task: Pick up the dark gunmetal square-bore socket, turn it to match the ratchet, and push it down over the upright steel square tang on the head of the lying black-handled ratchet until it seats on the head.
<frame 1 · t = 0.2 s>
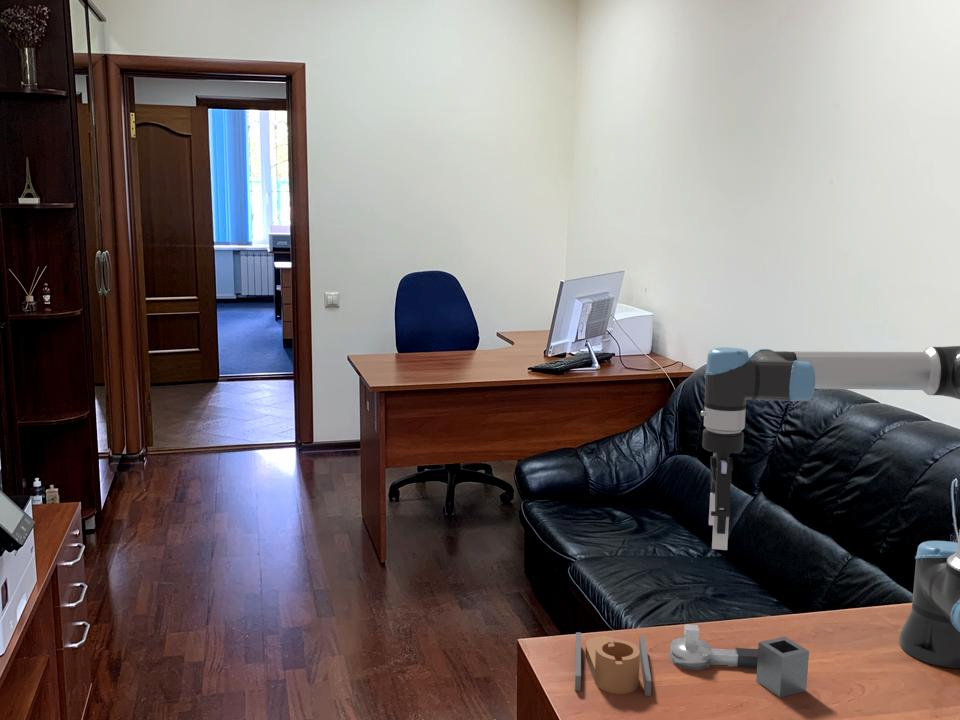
hand: (717, 536, 170), 27 cm above the table, fingers open, 13 cm apart
tan slotted hollow cylinder: (611, 671, 173), on the table
ratchet: (690, 660, 177), on the table
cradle: (611, 669, 173), on the table
socket: (780, 686, 167), on the table
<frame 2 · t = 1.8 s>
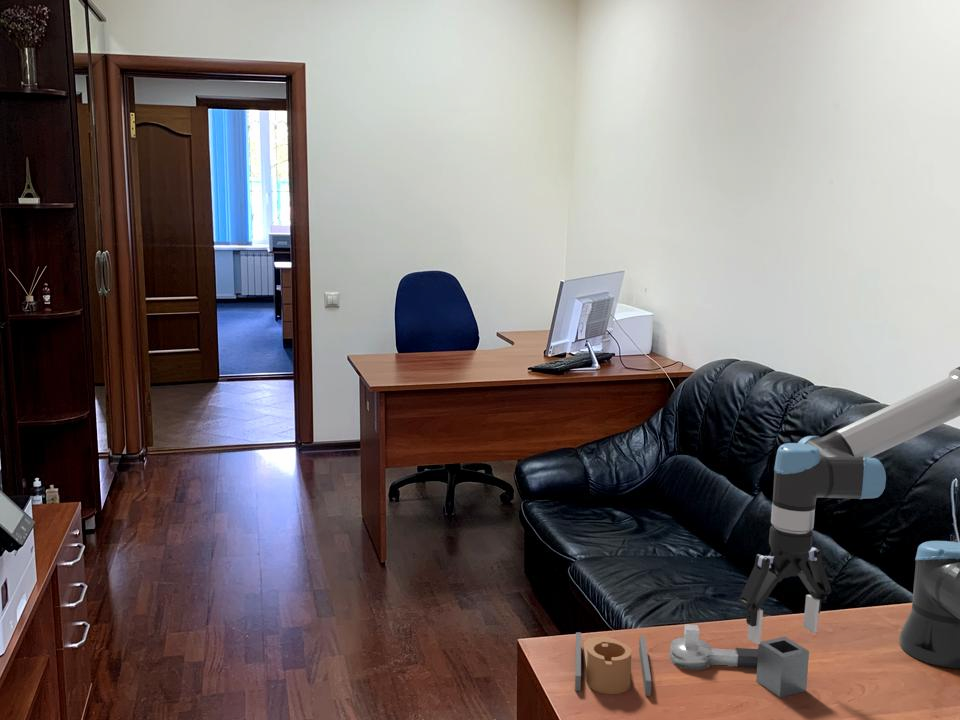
hand: (782, 635, 166), 10 cm above the table, fingers open, 13 cm apart
tan slotted hollow cylinder: (605, 671, 173), on the table
everything else where it was.
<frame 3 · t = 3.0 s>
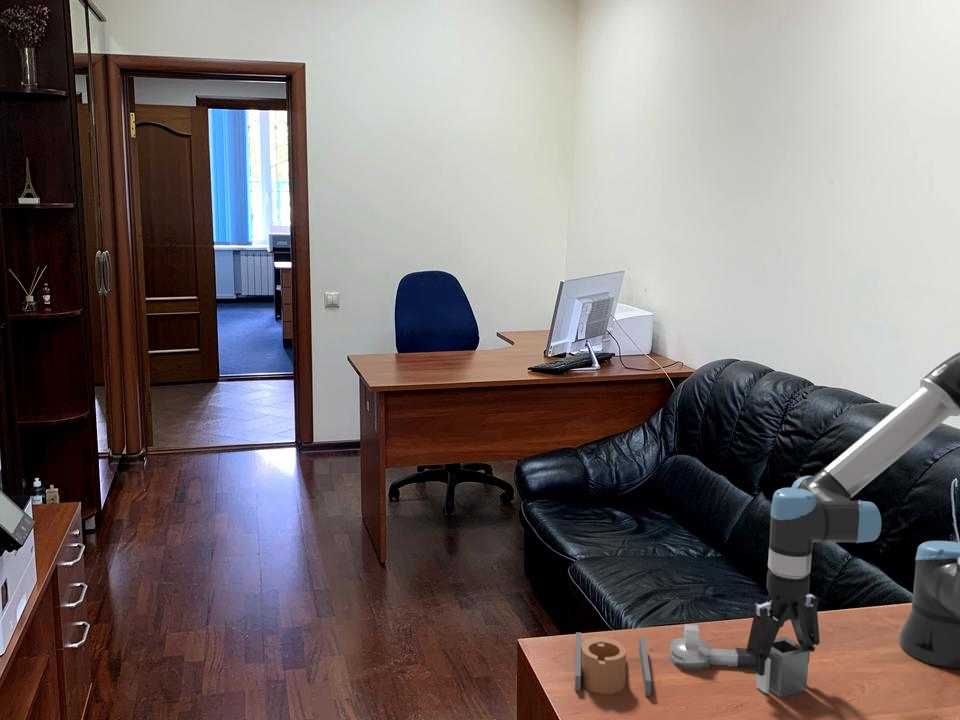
hand: (780, 684, 167), 0 cm above the table, fingers open, 8 cm apart
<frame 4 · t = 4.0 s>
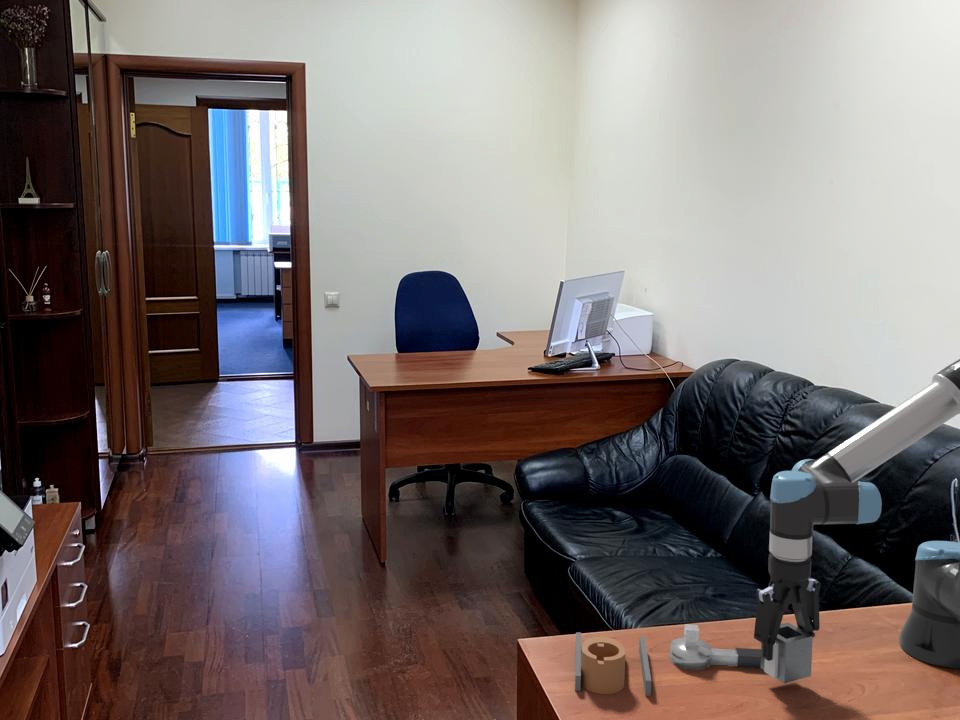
hand: (785, 670, 167), 3 cm above the table, fingers closed on socket, 6 cm apart
socket: (785, 672, 167), point 3 cm above the table, touching gripper
everything else where it was.
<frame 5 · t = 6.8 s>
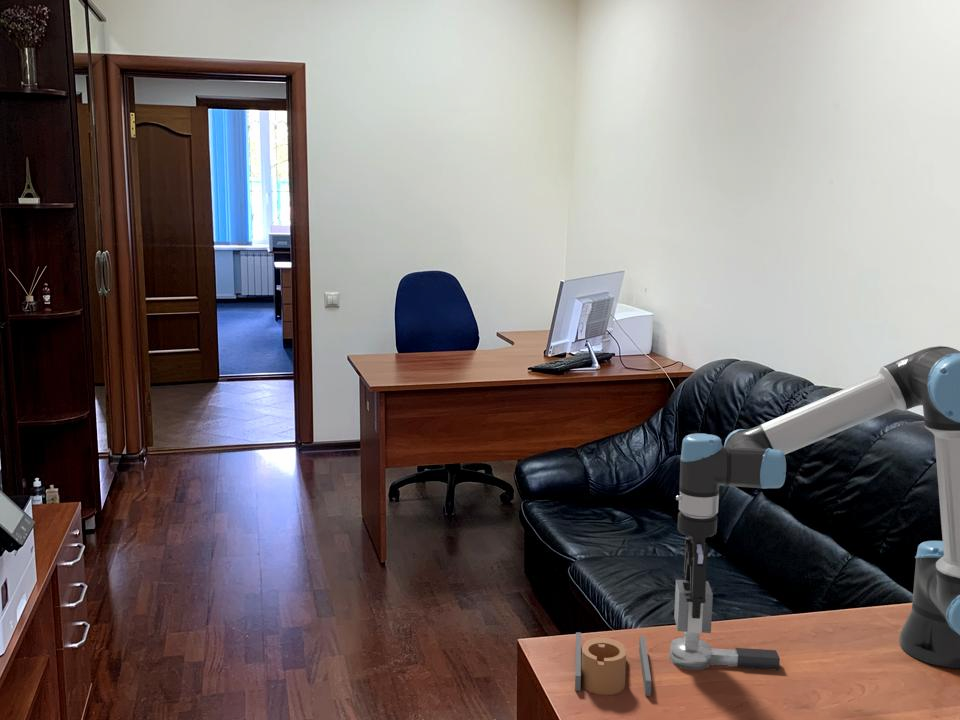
hand: (692, 623, 176), 8 cm above the table, fingers closed on socket, 6 cm apart
socket: (692, 624, 176), point 8 cm above the table, touching gripper
everything else where it was.
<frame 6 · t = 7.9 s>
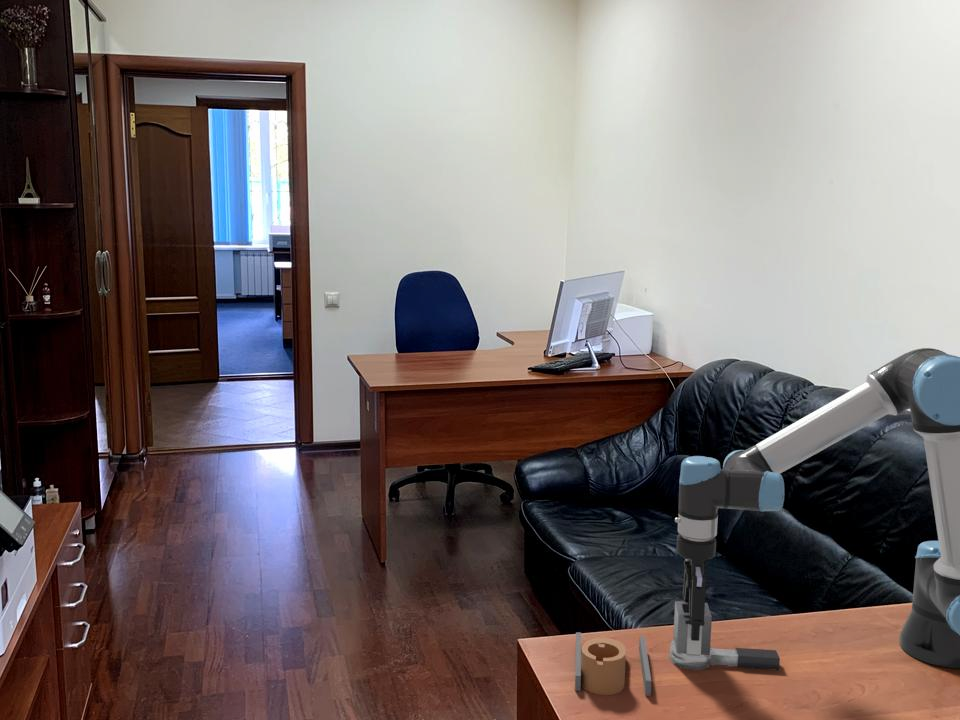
hand: (691, 645, 176), 3 cm above the table, fingers closed on ratchet, socket, 6 cm apart
tan slotted hollow cylinder: (603, 672, 172), on the table, touching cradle
ratchet: (690, 660, 177), on the table, touching gripper
socket: (691, 646, 176), point 3 cm above the table, touching gripper
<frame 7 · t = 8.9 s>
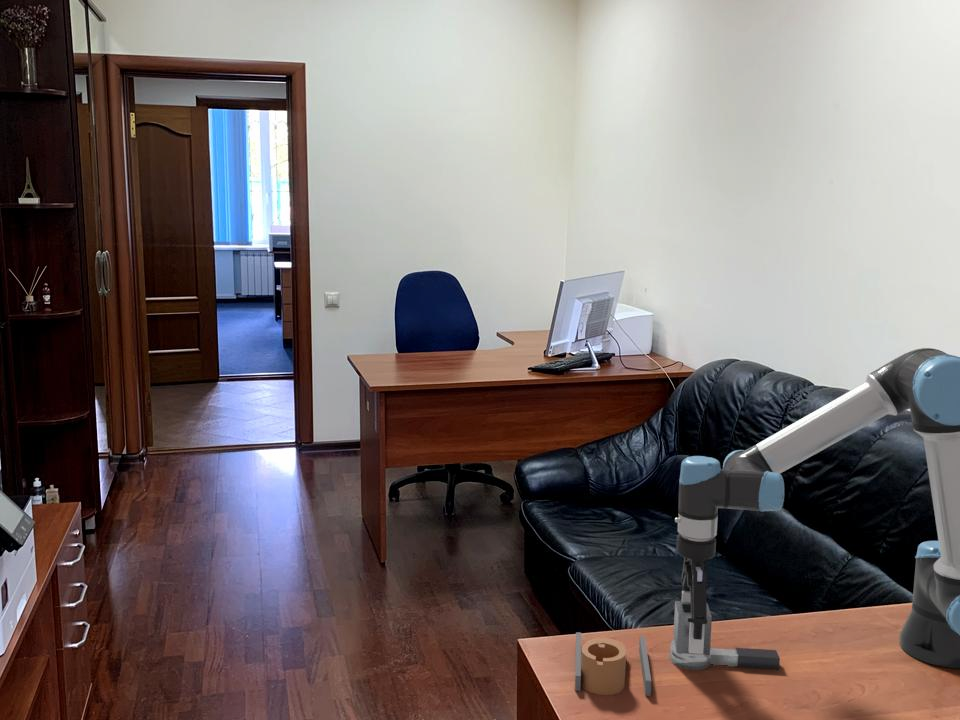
hand: (691, 636, 176), 5 cm above the table, fingers open, 13 cm apart
ratchet: (690, 660, 177), on the table, touching socket
socket: (691, 646, 176), point 3 cm above the table, touching ratchet
everything else where it was.
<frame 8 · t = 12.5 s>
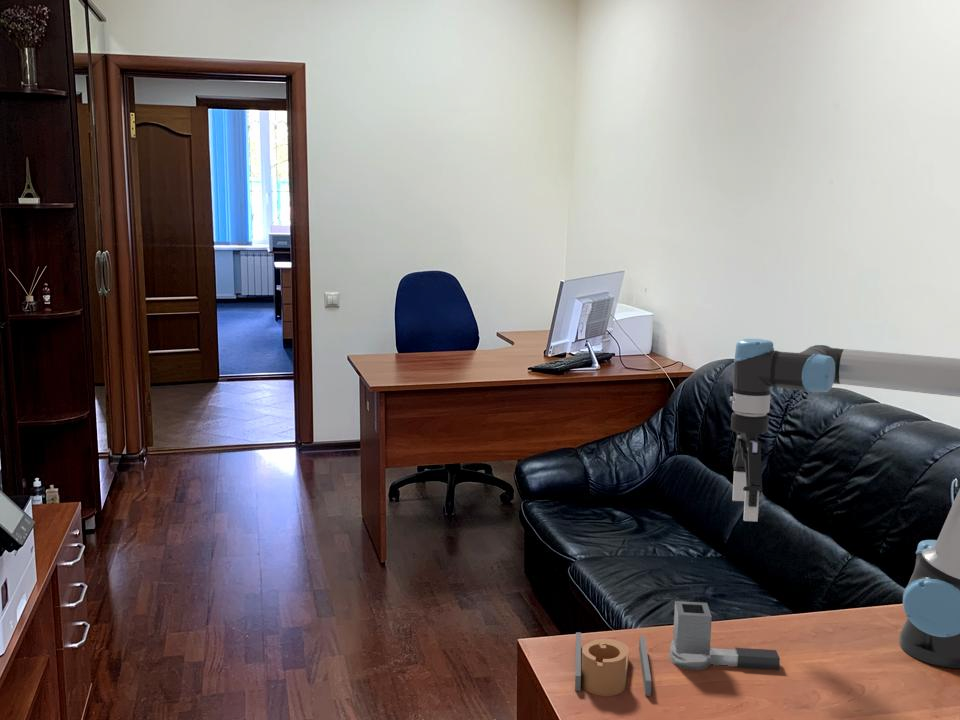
hand: (744, 510, 187), 27 cm above the table, fingers open, 13 cm apart
tan slotted hollow cylinder: (605, 673, 172), on the table
everything else where it was.
at the end: socket 0.0 cm from the ratchet (horizontally); socket 0.0 cm off-centre on the ratchet, point 3.0 cm above the ratchet's base; the gripper is holding nothing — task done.
